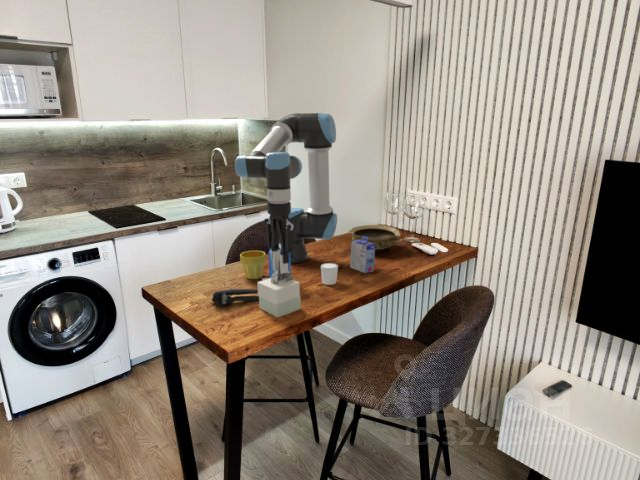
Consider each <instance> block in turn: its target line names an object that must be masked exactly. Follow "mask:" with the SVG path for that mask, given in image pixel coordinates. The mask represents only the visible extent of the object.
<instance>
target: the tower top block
mask: <svg viewBox="0 0 640 480" xmlns="http://www.w3.org/2000/svg"><path fill="white" fill-rule="evenodd" d="M256 285H257V289H258V293H257V296H259V297H261V298H263V299H265V300H267V301H270V302H272V303H274V304H276V305H277V304H280V303H283V302H285V301H288V300H291V299H293V298H296V297H299V296H301V293H300V292H301V291H300V290H301V289H300V281H297V280H295V279H293V280H290V281H287V282H285V283H282V284H279V285H277V284H274V283H271V278H269V277H268V278H267V279H265V280H263V279H262V280H259V281H257V284H256Z"/></svg>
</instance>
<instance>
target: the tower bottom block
mask: <svg viewBox="0 0 640 480" xmlns="http://www.w3.org/2000/svg"><path fill="white" fill-rule="evenodd" d="M301 298H302V297H301V295H300V296H299V297H296V298H293V299H291V300H288V301H285V302H283V303H280V304H277V305H276V304H274V303H272V302H270V301H267V300H265V299H263V298H261V297H259V300H258V301H259V302H258V303H259V306H258V307H259V308H258V309H260V310H262V311H264V312H266V313H267V314H269V315H271V316H274V317H275V318H280V317H284V316H285V315H288V314H291V313H293V312H296V311H299V310H301V309H302V308H301V306H302V305H301V300H302V299H301Z"/></svg>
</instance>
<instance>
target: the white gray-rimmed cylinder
mask: <svg viewBox="0 0 640 480" xmlns="http://www.w3.org/2000/svg"><path fill="white" fill-rule="evenodd" d="M338 270H339V265H338V264H336V263H332V262H328V263H327V262H326V263H322V264H321V265H320V272H321V284H323V285H327V286H331V285H332V286H333V285H336V284H337V280H338V272H339V271H338Z"/></svg>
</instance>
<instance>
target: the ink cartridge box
mask: <svg viewBox="0 0 640 480" xmlns="http://www.w3.org/2000/svg"><path fill="white" fill-rule="evenodd" d="M363 238H366V239H367V240H363ZM368 238H369V237H366V236H363V237H362V239H361V240H355V241H353V240H352V241H350V242H351V245H350V267H349V268H351V269H353V270H356V271H358V272H361V273H364V274H369V273H372V272H374V271H375V258H376V257H375V255H376V254H375V253H376V252H375V244H373V243H370V242H367V241H368Z"/></svg>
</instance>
